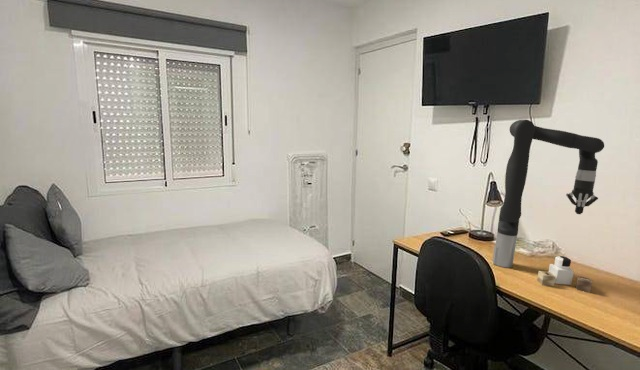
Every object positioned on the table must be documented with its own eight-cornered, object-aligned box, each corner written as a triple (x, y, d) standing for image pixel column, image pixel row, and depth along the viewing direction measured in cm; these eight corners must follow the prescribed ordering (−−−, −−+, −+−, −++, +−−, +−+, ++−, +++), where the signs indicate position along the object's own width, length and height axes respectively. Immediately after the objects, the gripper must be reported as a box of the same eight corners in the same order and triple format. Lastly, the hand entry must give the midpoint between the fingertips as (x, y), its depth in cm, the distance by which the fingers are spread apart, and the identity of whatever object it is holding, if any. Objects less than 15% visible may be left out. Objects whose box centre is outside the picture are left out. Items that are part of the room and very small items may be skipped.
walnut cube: (576, 289, 153) (578, 279, 152) (575, 285, 157) (577, 275, 156) (589, 293, 150) (592, 282, 150) (589, 289, 154) (591, 278, 154)
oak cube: (541, 285, 156) (543, 275, 155) (537, 280, 161) (538, 270, 160) (553, 286, 155) (555, 276, 154) (548, 281, 160) (550, 271, 159)
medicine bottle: (562, 278, 164) (566, 255, 162) (571, 285, 157) (576, 261, 155) (547, 277, 165) (551, 254, 163) (555, 283, 158) (559, 259, 156)
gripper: (571, 179, 162) (564, 213, 165) (605, 181, 157) (597, 217, 160) (566, 176, 169) (560, 210, 172) (598, 179, 164) (591, 213, 167)
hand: (578, 213), depth 166 cm, fingers closed
